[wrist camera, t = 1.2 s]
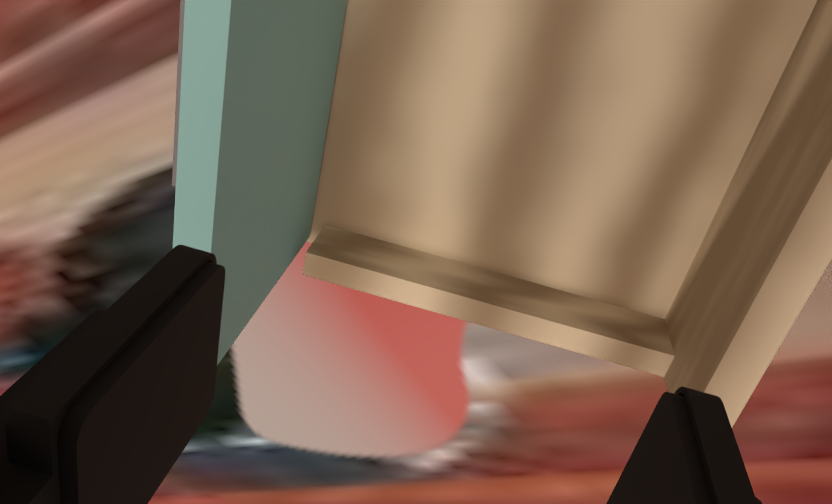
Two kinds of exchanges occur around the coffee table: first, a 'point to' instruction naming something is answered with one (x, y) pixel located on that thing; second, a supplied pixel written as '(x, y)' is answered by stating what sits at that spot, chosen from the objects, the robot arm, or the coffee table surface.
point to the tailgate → (251, 137)
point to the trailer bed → (587, 174)
